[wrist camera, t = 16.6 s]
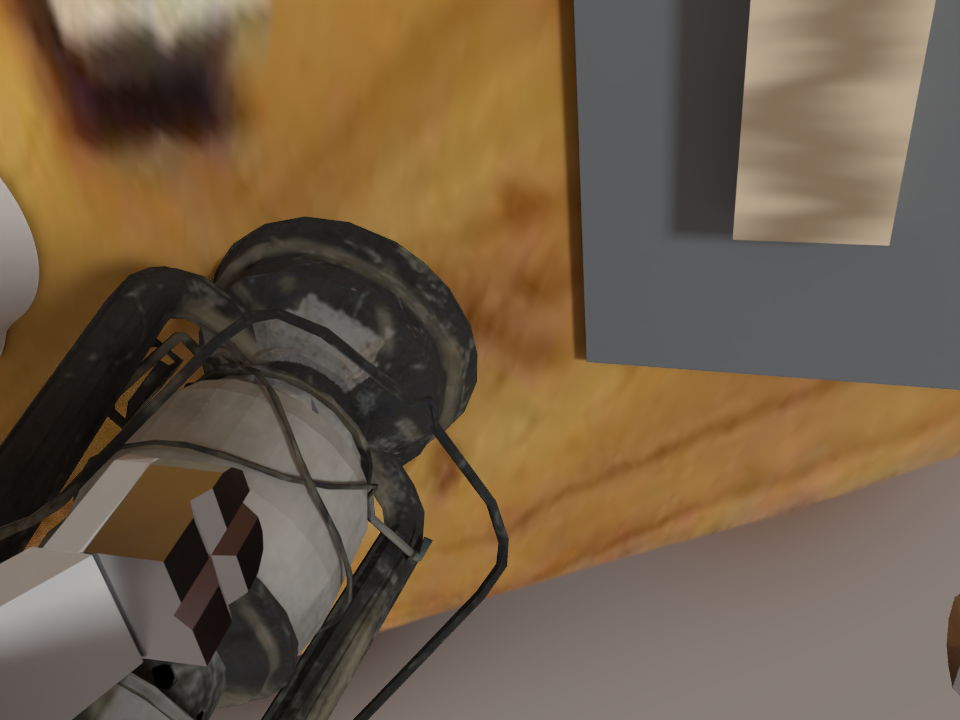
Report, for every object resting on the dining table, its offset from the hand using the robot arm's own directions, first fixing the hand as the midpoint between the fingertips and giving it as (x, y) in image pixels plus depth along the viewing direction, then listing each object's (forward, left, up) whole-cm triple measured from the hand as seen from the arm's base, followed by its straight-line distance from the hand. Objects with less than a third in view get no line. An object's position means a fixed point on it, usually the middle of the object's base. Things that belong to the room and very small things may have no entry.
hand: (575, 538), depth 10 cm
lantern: (-16, -17, -28) cm, 36 cm away
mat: (+3, -7, -28) cm, 29 cm away
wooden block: (+4, -10, -26) cm, 28 cm away
